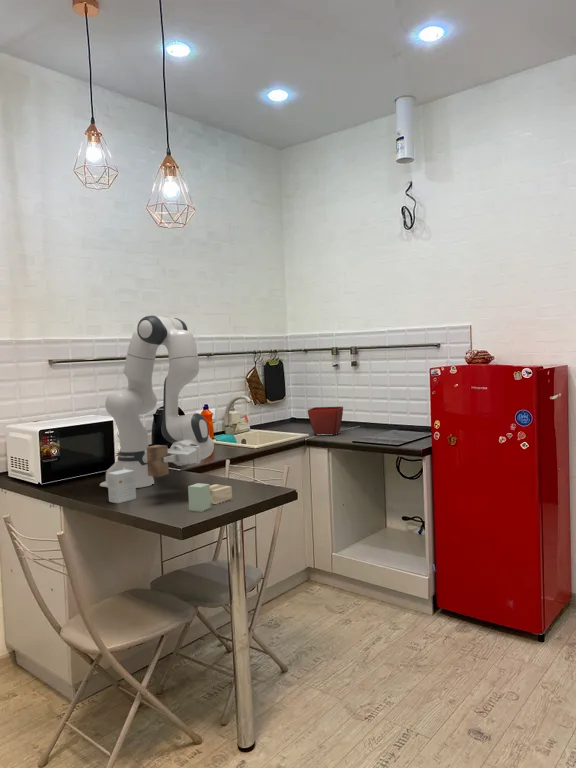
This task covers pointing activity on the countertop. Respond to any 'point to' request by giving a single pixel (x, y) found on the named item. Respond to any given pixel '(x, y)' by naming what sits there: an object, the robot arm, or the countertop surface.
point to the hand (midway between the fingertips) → (155, 459)
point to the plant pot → (325, 419)
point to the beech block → (220, 493)
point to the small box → (121, 486)
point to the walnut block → (157, 460)
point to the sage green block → (199, 497)
